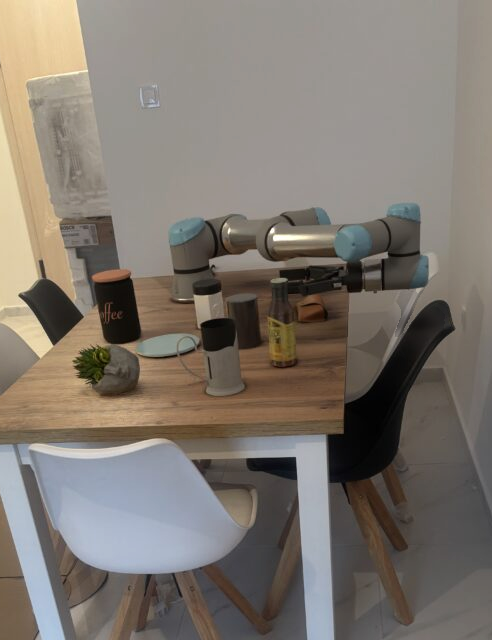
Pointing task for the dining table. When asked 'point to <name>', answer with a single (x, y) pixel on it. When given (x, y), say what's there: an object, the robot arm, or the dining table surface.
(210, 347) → the glass holder
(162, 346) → the saucer
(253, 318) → the dark glossy canister
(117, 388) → the potted plant
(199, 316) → the jar
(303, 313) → the sunglasses case
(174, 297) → the robot arm
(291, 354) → the sauce bottle
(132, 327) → the coffee jar
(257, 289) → the dining table surface
